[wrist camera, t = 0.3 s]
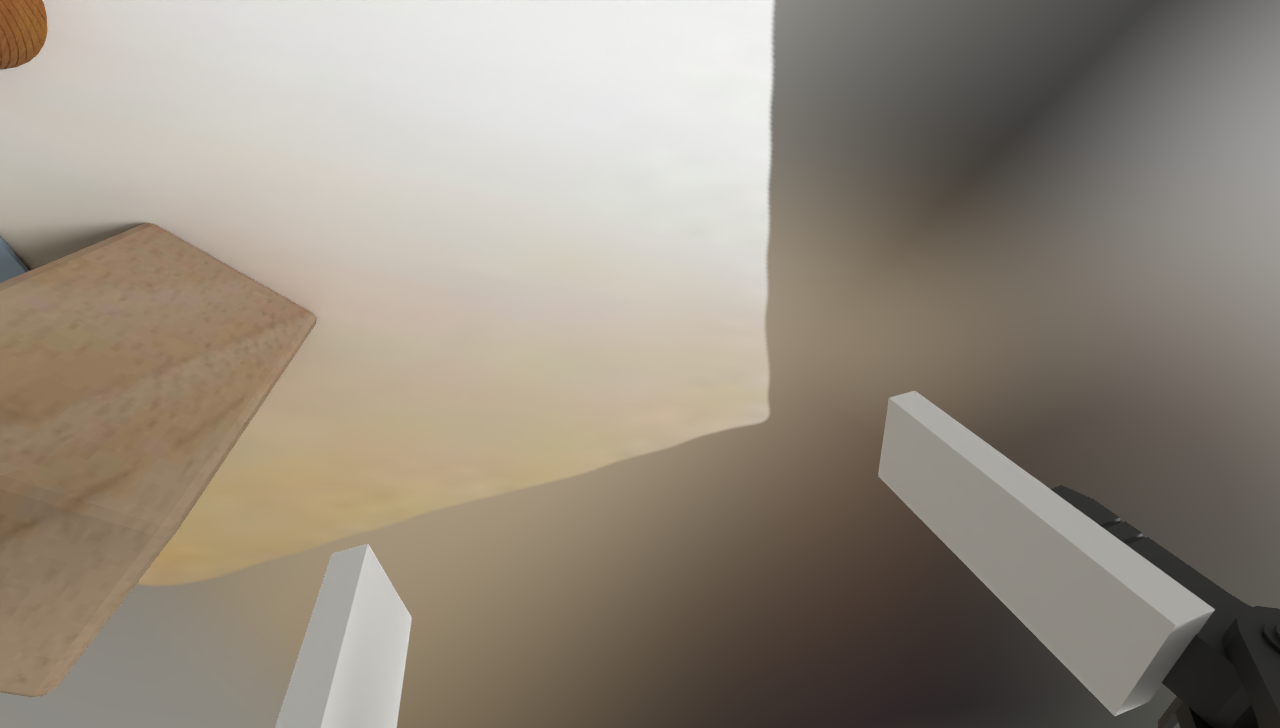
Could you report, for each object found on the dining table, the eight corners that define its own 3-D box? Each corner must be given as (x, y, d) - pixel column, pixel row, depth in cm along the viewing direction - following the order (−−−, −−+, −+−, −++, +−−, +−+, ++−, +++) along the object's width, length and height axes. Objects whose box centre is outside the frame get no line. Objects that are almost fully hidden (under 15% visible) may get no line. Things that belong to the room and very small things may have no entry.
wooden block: (66, 343, 32) (-405, 639, 15) (148, 217, 30) (-277, 387, 13) (242, 419, 37) (43, 705, 20) (321, 315, 35) (178, 530, 18)
